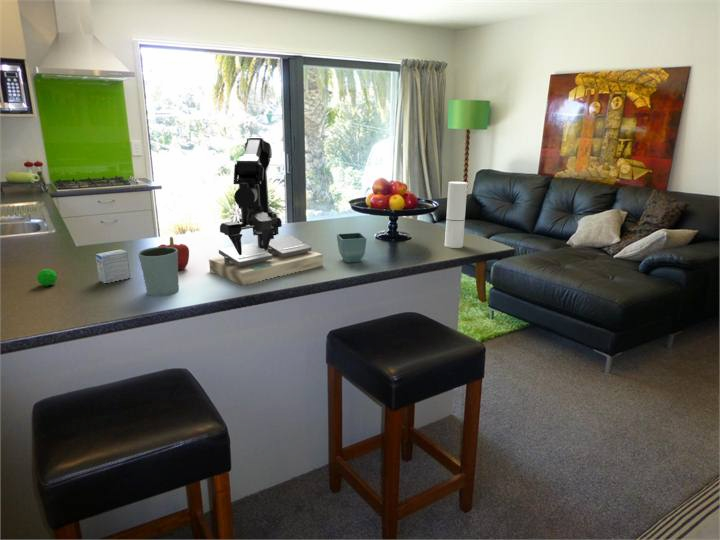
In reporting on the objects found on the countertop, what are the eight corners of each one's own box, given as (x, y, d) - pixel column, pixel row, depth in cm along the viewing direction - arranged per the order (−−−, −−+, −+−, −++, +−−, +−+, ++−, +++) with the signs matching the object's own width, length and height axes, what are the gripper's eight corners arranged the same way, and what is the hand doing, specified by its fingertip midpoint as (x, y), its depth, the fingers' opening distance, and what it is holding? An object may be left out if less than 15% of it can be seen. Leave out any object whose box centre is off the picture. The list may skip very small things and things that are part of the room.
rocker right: (261, 244, 165) (261, 240, 164) (290, 239, 173) (290, 235, 173) (282, 257, 158) (282, 253, 157) (311, 251, 166) (311, 246, 165)
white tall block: (461, 243, 197) (466, 181, 190) (463, 248, 190) (468, 183, 183) (443, 243, 198) (447, 181, 190) (445, 247, 191) (449, 183, 183)
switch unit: (210, 271, 158) (208, 251, 156) (287, 254, 179) (286, 236, 177) (243, 285, 144) (241, 264, 142) (322, 265, 165) (322, 246, 163)
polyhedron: (36, 285, 143) (33, 269, 142) (55, 281, 146) (53, 266, 145) (41, 289, 140) (38, 273, 138) (60, 285, 143) (57, 270, 142)
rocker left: (218, 253, 154) (218, 248, 154) (251, 247, 162) (251, 242, 162) (239, 266, 147) (239, 261, 146) (272, 259, 155) (272, 254, 154)
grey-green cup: (186, 285, 144) (182, 246, 140) (174, 297, 134) (170, 255, 131) (151, 285, 143) (146, 246, 140) (137, 297, 134) (132, 255, 130)
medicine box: (124, 275, 153) (121, 248, 150) (131, 278, 150) (128, 251, 147) (98, 281, 147) (94, 254, 144) (105, 284, 144) (101, 256, 141)
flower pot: (342, 264, 166) (342, 239, 164) (336, 258, 175) (336, 233, 172) (366, 263, 169) (367, 238, 166) (359, 256, 177) (360, 232, 174)
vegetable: (157, 266, 163) (154, 236, 160) (190, 263, 166) (187, 234, 163) (156, 275, 153) (153, 244, 150) (191, 272, 157) (188, 242, 154)
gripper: (237, 209, 134) (240, 263, 139) (291, 202, 147) (293, 252, 152) (217, 204, 142) (220, 255, 147) (270, 198, 155) (272, 245, 159)
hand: (253, 252), depth 151 cm, fingers open, 9 cm apart
